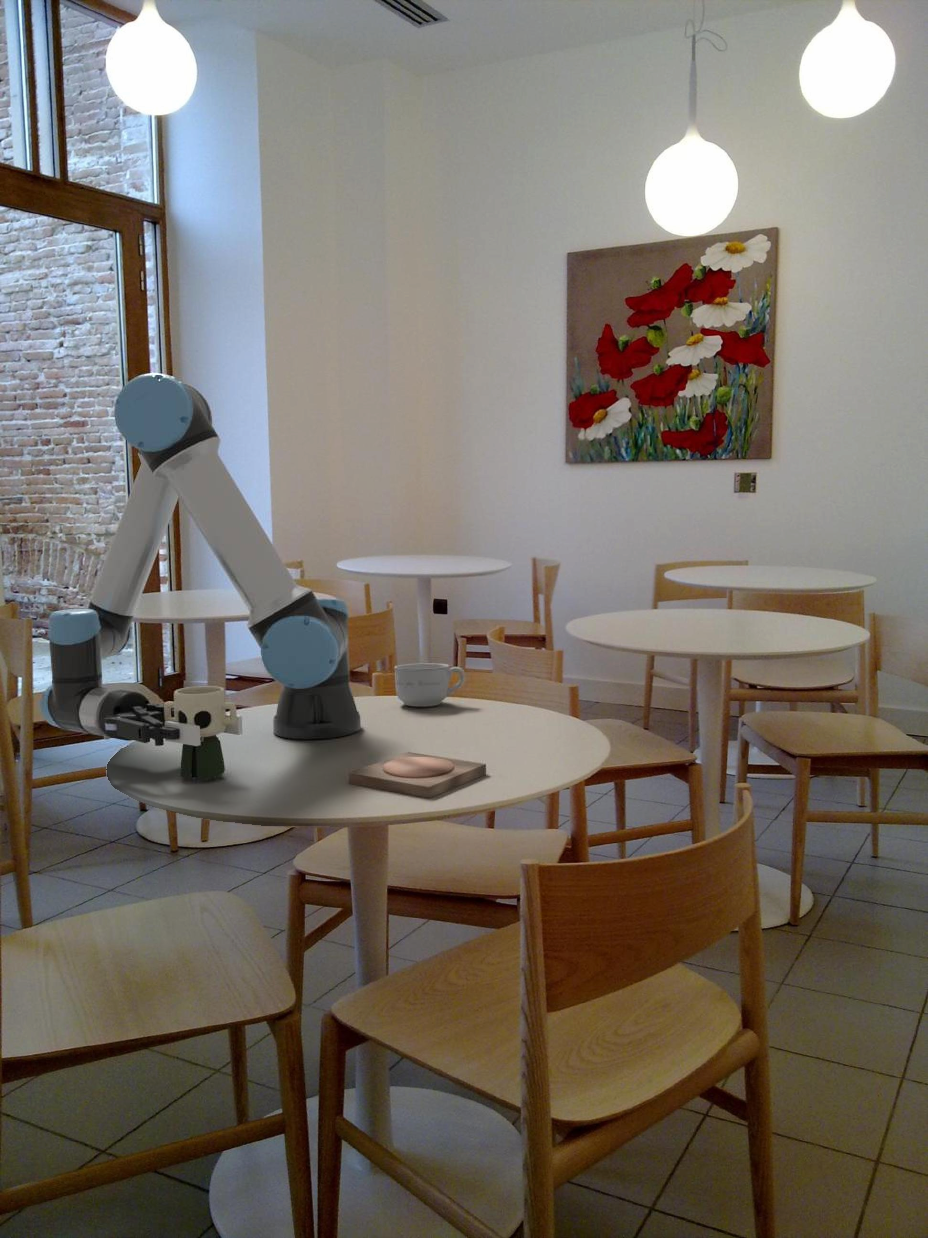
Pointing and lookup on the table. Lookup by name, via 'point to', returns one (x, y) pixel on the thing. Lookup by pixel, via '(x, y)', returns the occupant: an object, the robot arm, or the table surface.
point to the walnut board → (417, 774)
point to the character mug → (202, 728)
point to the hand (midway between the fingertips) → (219, 730)
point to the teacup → (425, 683)
